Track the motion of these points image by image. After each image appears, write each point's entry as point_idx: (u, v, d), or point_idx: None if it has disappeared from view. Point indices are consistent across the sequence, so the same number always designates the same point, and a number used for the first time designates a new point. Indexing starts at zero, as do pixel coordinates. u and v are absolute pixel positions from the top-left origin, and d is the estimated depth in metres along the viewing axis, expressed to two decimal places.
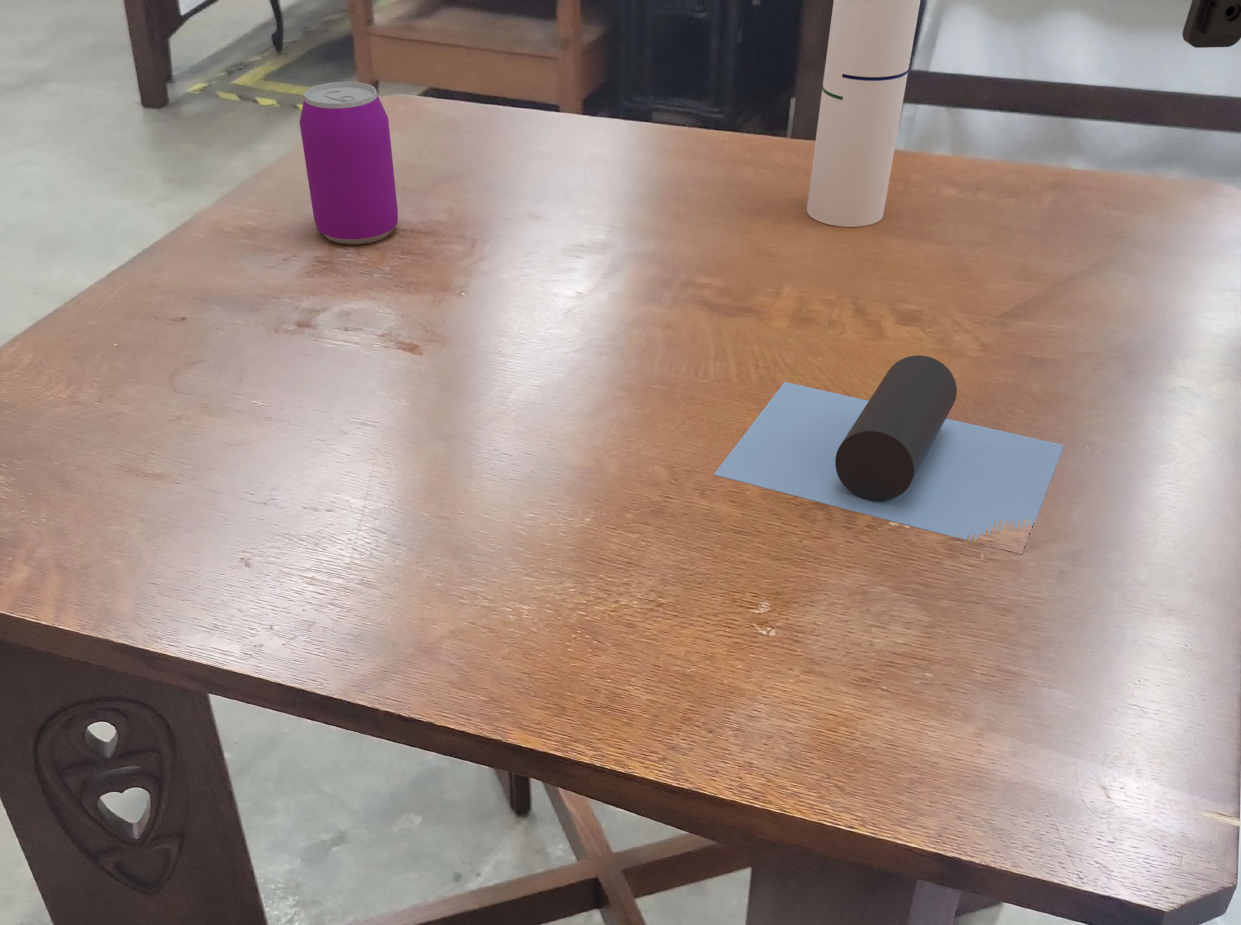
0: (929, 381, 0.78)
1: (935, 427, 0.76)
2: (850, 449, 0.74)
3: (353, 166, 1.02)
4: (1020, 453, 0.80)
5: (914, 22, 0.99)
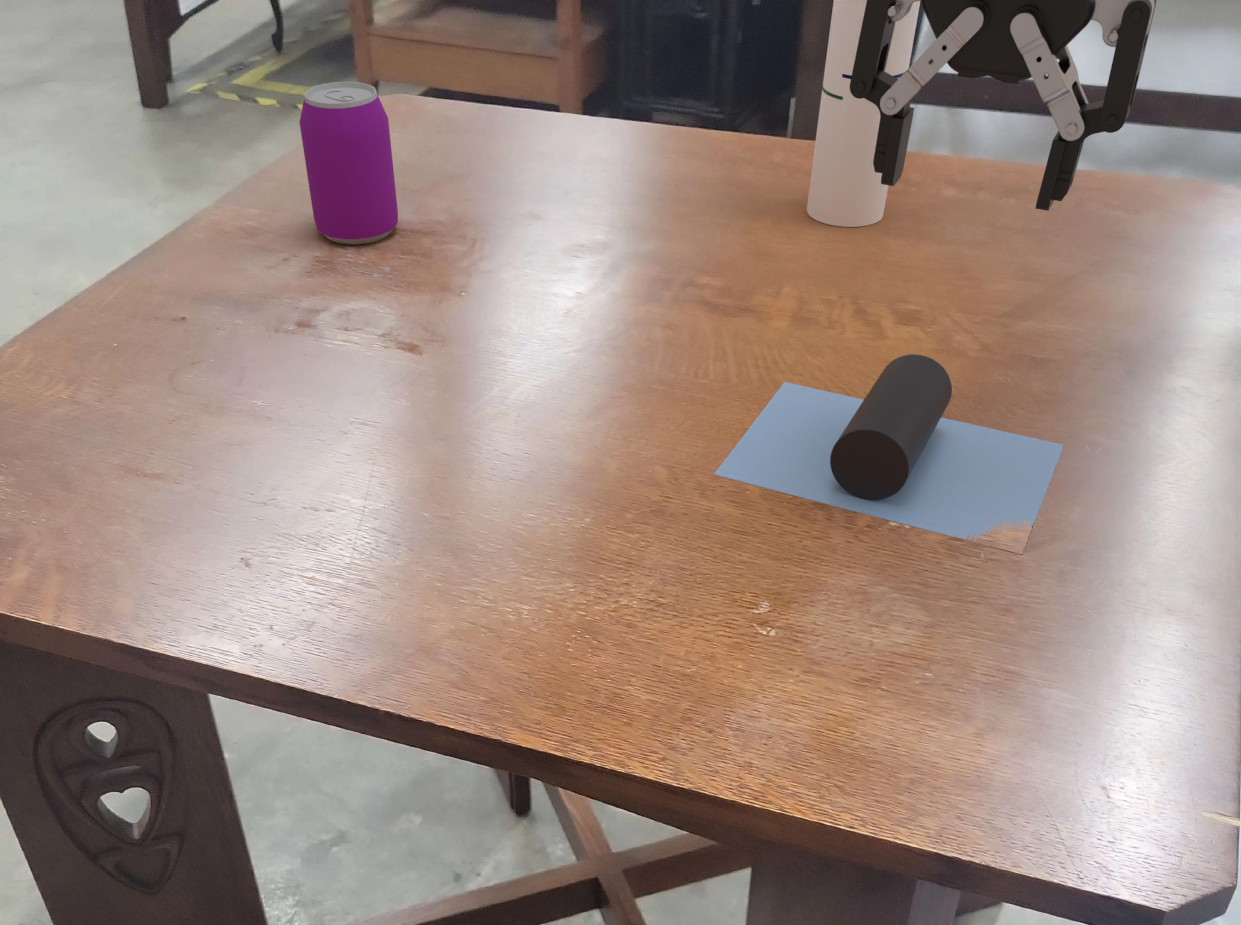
0: (920, 377, 0.78)
1: (929, 421, 0.76)
2: (843, 451, 0.74)
3: (353, 166, 1.02)
4: (1020, 453, 0.80)
5: (914, 22, 0.99)
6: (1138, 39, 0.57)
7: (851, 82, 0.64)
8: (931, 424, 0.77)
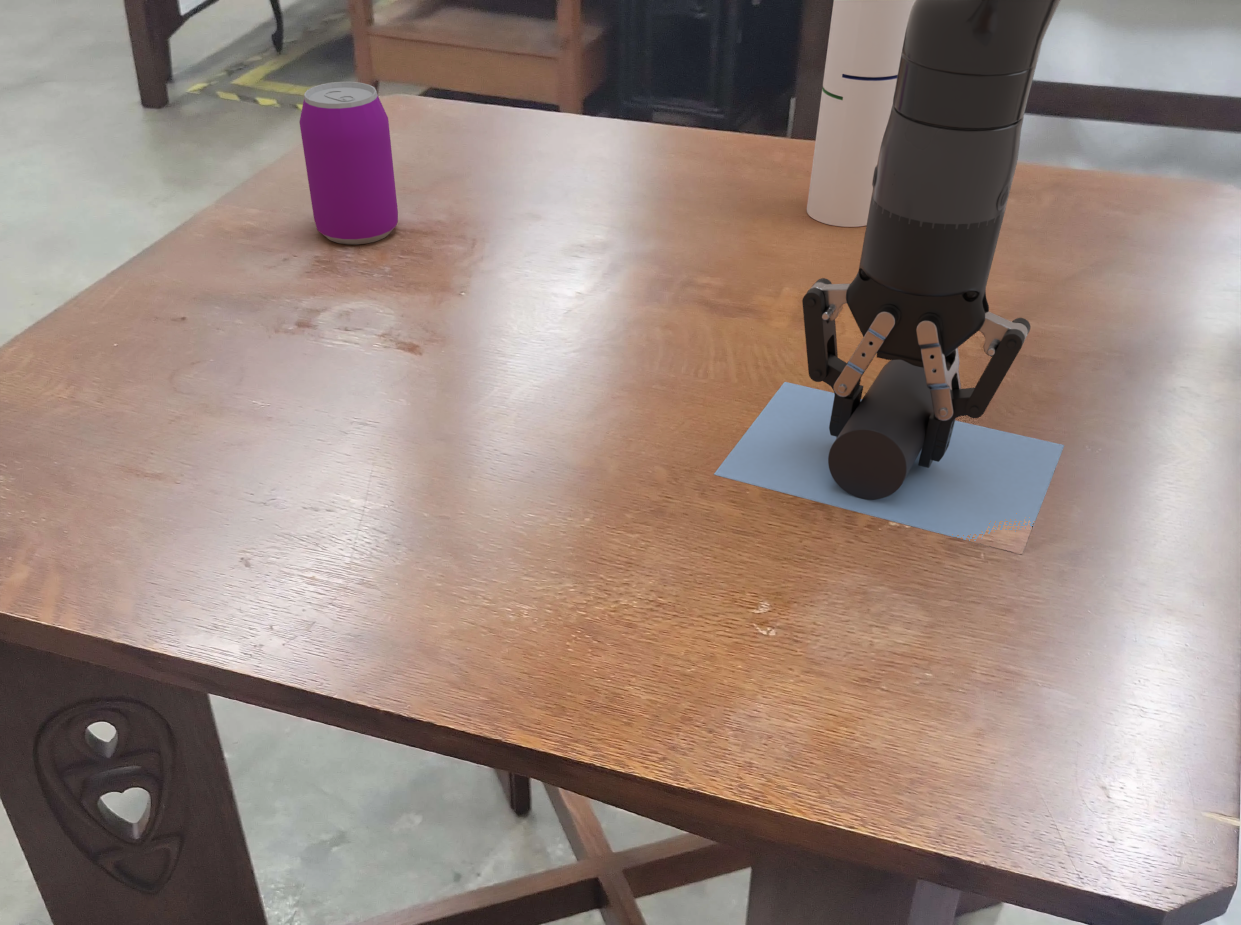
0: (915, 376, 0.78)
1: (927, 419, 0.76)
2: (841, 452, 0.75)
3: (353, 166, 1.02)
4: (1020, 453, 0.80)
5: None
6: (1008, 361, 0.71)
7: (809, 371, 0.77)
8: None
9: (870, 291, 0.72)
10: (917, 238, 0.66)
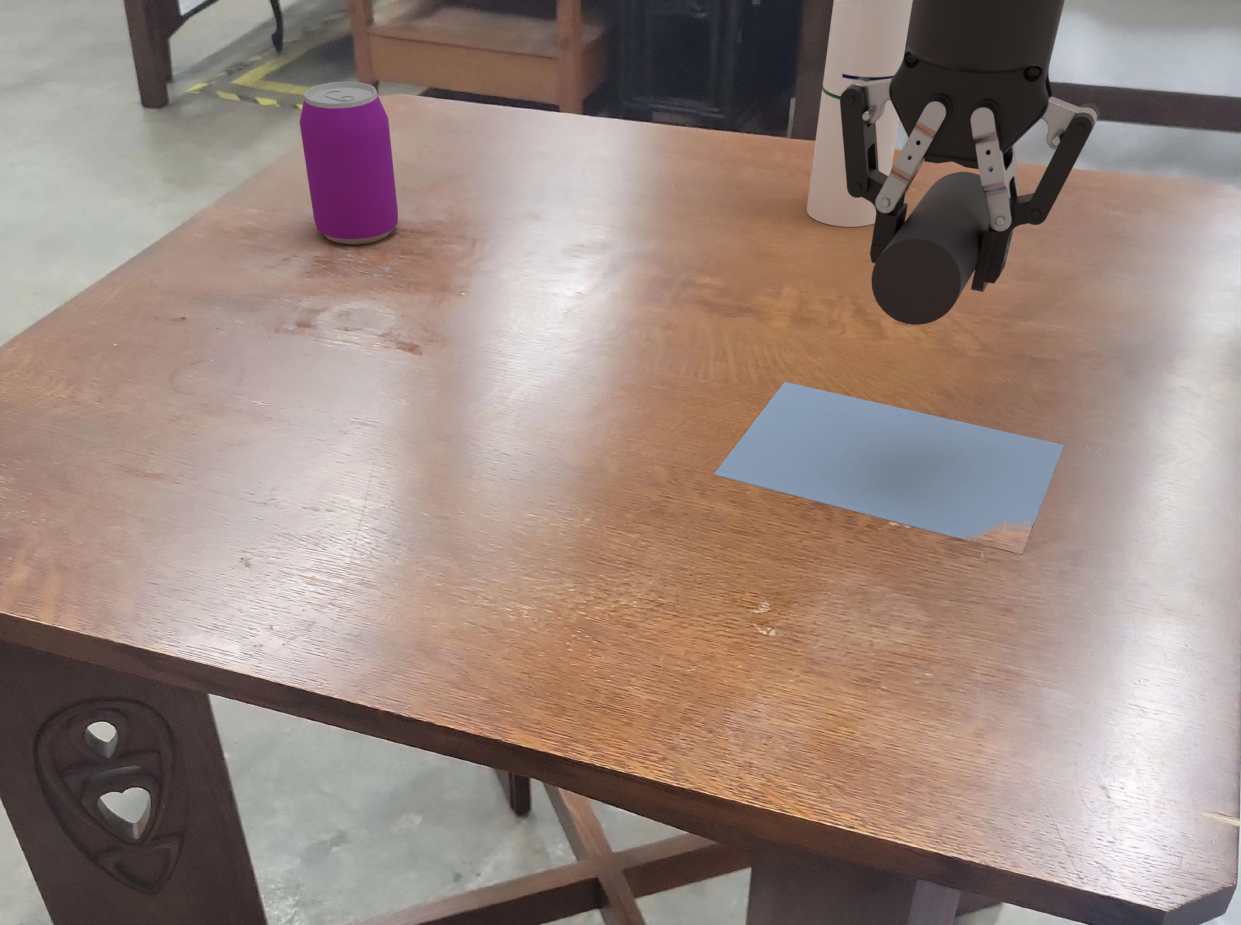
0: (966, 191, 0.70)
1: (980, 234, 0.68)
2: (886, 269, 0.67)
3: (353, 166, 1.02)
4: (1020, 453, 0.80)
5: None
6: (1075, 150, 0.63)
7: (848, 186, 0.69)
8: None
9: (917, 80, 0.64)
10: None
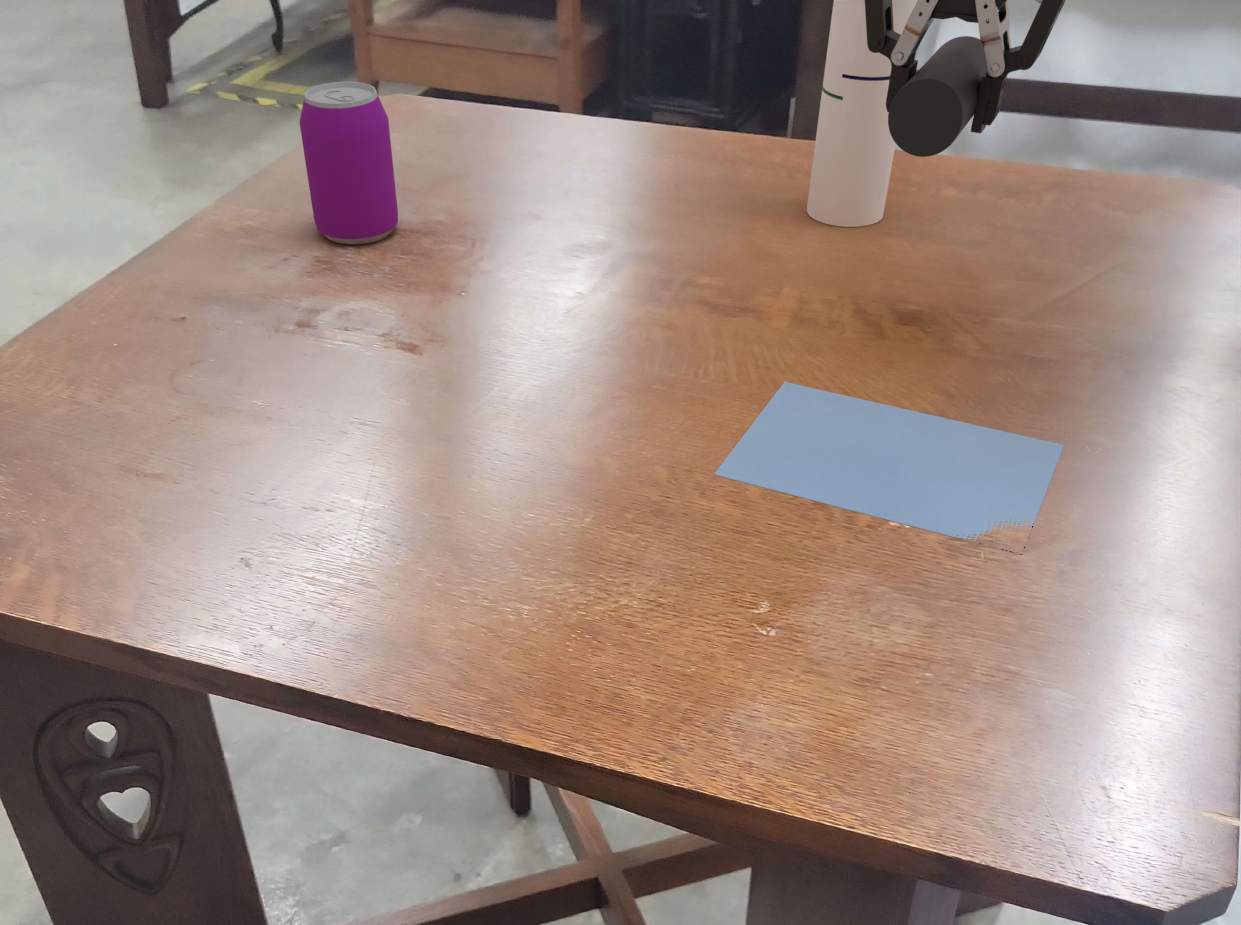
0: (967, 48, 0.83)
1: (979, 82, 0.82)
2: (900, 107, 0.80)
3: (353, 166, 1.02)
4: (1020, 453, 0.80)
5: None
6: (1057, 2, 0.76)
7: (868, 42, 0.82)
8: None
9: None
10: None
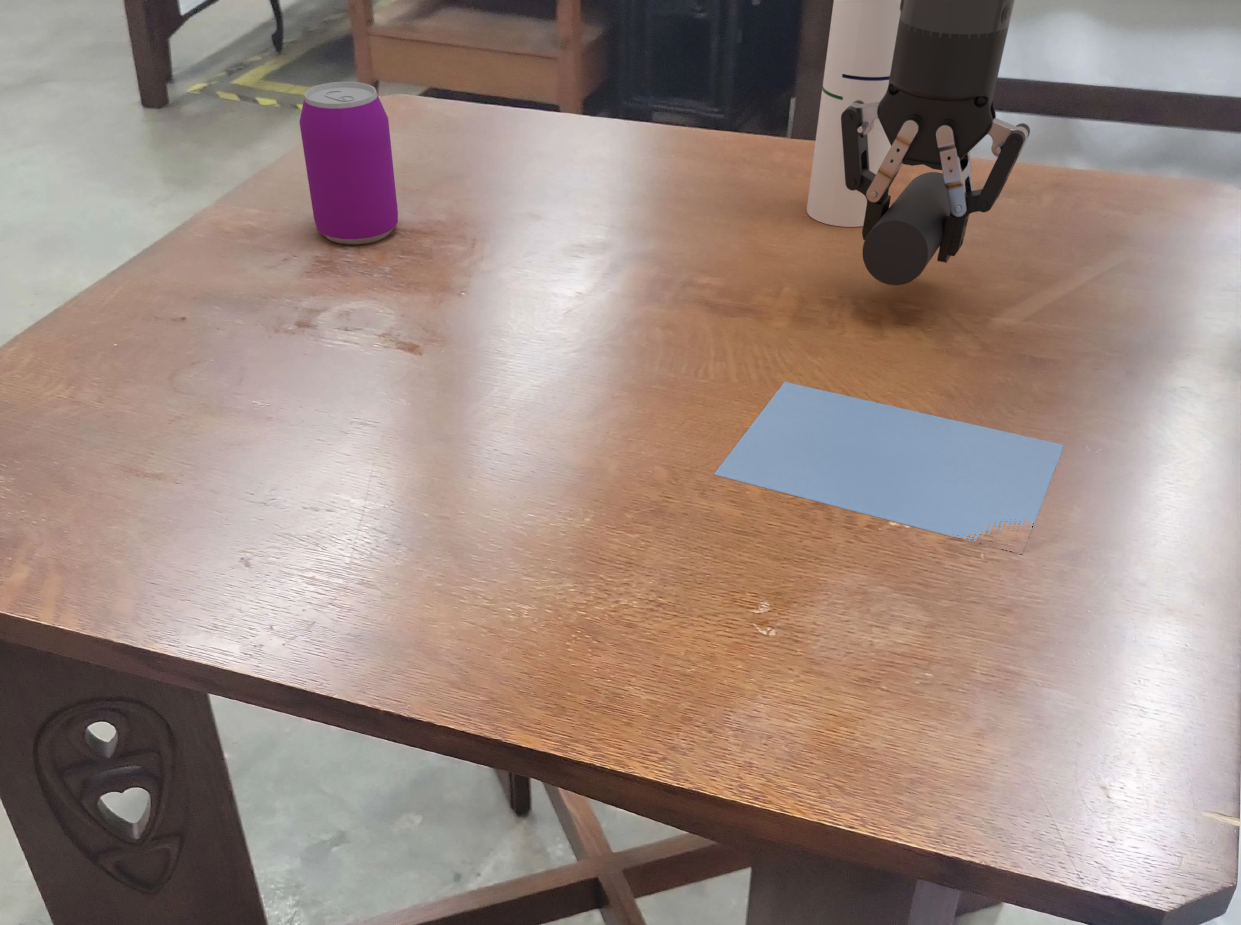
0: (934, 186, 0.93)
1: (944, 218, 0.92)
2: (873, 243, 0.90)
3: (353, 166, 1.02)
4: (1020, 453, 0.80)
5: None
6: (1011, 158, 0.86)
7: (846, 181, 0.92)
8: None
9: (897, 104, 0.87)
10: (937, 48, 0.82)
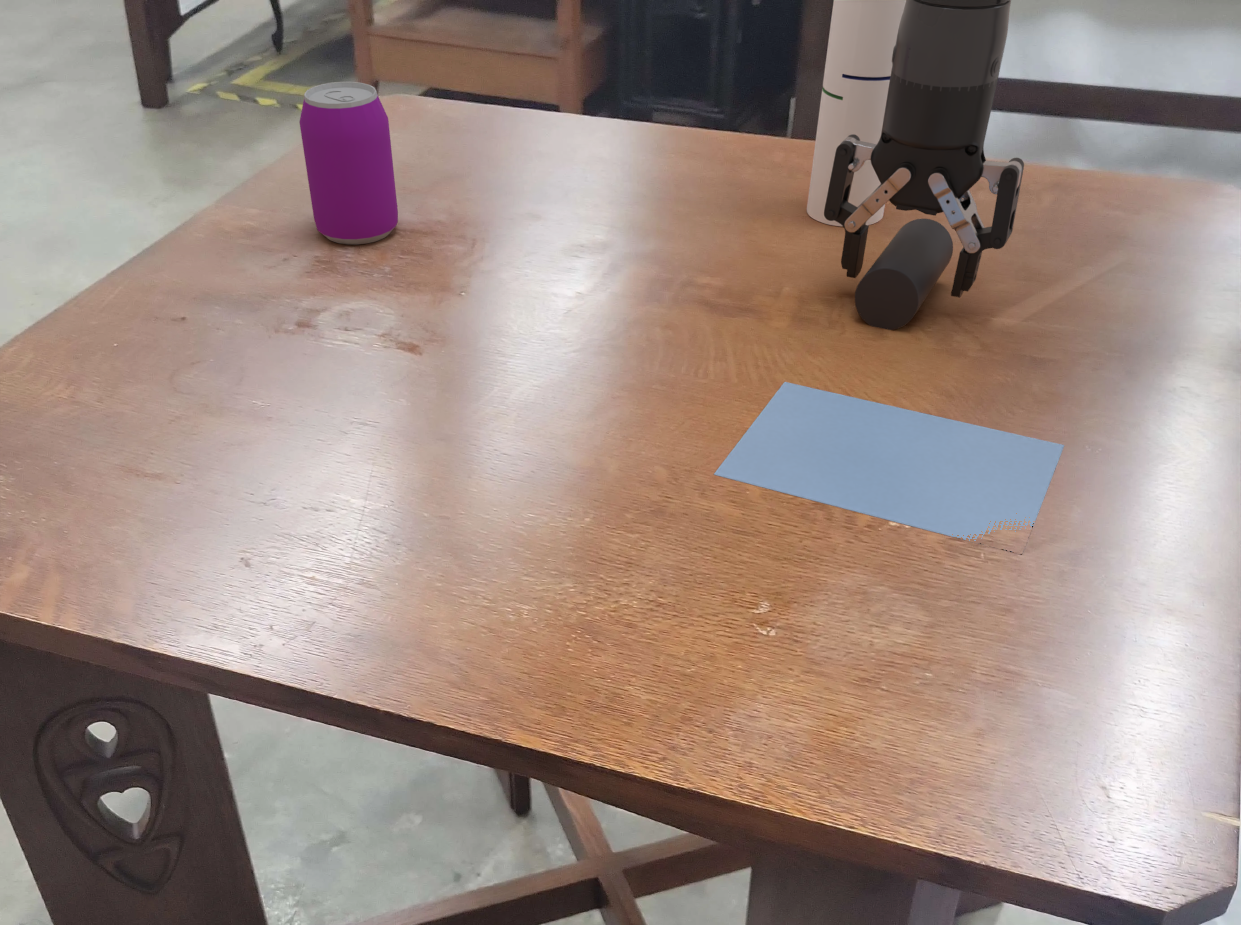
0: (924, 233, 0.96)
1: (934, 265, 0.94)
2: (865, 290, 0.93)
3: (353, 166, 1.02)
4: (1020, 453, 0.80)
5: None
6: (1011, 191, 0.87)
7: (825, 210, 0.94)
8: (936, 267, 0.94)
9: (892, 154, 0.90)
10: (928, 100, 0.84)
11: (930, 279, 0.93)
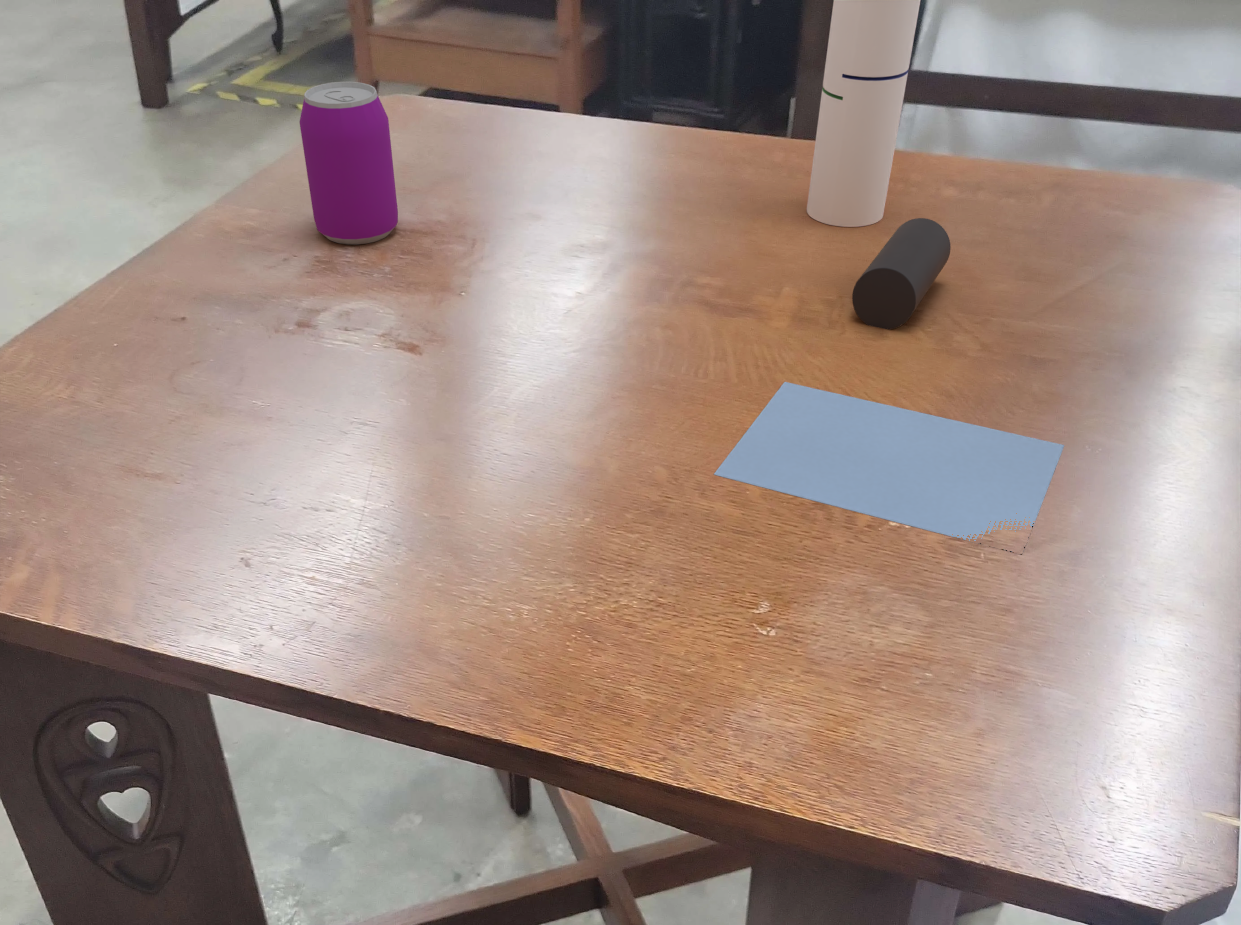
0: (919, 231, 0.96)
1: (931, 262, 0.94)
2: (861, 291, 0.93)
3: (353, 166, 1.02)
4: (1020, 453, 0.80)
5: (914, 22, 0.99)
6: None
7: None
8: (933, 264, 0.94)
9: None
10: None
11: (927, 276, 0.93)
